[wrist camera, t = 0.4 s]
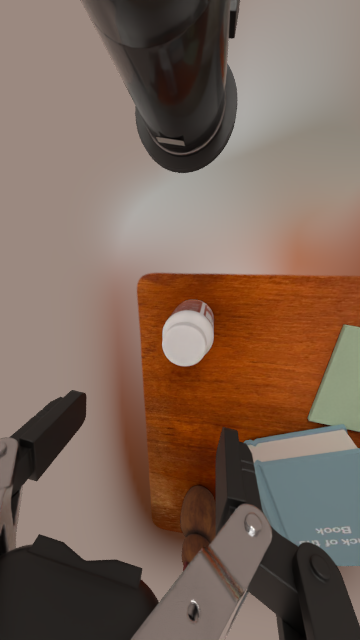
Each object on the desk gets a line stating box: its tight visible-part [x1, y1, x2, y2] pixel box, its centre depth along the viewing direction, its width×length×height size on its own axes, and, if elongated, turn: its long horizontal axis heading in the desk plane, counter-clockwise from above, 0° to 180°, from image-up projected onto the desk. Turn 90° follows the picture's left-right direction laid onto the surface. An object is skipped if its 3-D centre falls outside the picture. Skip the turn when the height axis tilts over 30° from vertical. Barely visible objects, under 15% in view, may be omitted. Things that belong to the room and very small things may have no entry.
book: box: [244, 424, 360, 566], centre depth 35 cm, size 23×16×5 cm
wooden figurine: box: [180, 486, 216, 571], centre depth 35 cm, size 7×6×15 cm
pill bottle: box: [162, 300, 214, 366], centre depth 28 cm, size 6×6×11 cm
